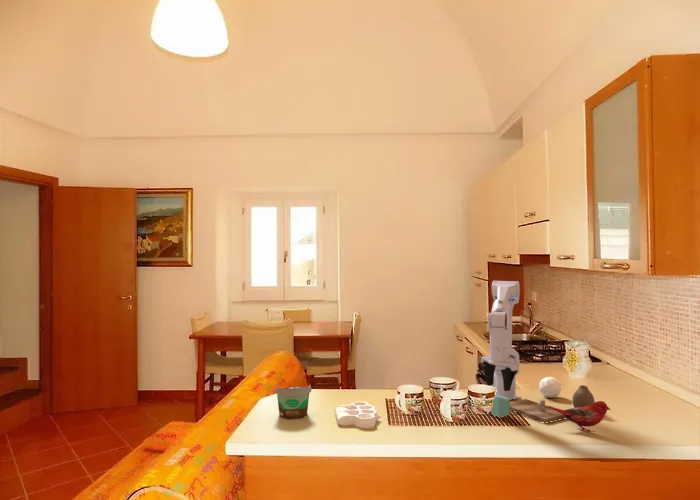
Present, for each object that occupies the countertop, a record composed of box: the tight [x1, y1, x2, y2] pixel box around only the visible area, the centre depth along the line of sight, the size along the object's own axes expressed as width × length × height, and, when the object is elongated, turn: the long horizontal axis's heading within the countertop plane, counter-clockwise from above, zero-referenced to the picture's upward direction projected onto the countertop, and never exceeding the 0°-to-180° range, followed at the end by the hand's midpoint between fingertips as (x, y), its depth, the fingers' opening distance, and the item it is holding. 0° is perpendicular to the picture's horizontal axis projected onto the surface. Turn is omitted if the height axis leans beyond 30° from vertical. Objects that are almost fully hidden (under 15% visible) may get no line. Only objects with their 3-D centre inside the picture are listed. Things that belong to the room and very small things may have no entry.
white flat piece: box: [334, 401, 382, 429], centre depth 161 cm, size 3×18×15 cm
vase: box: [572, 384, 596, 408], centre depth 169 cm, size 7×7×9 cm
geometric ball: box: [538, 376, 562, 399], centre depth 186 cm, size 8×8×8 cm
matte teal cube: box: [491, 395, 511, 417], centre depth 165 cm, size 5×5×6 cm
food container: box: [274, 383, 312, 420], centre depth 162 cm, size 12×6×10 cm, turn 105°
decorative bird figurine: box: [547, 400, 611, 433], centre depth 151 cm, size 3×18×10 cm, turn 61°
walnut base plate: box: [510, 399, 566, 424], centre depth 167 cm, size 18×12×5 cm, turn 29°
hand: (498, 387), depth 165 cm, fingers open, 7 cm apart
